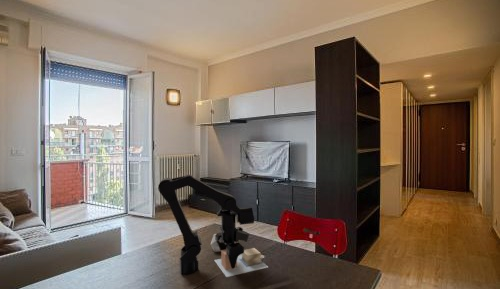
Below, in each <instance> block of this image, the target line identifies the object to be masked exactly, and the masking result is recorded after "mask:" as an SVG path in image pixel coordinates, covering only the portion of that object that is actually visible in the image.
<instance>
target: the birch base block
mask: <svg viewBox="0 0 500 289" xmlns="http://www.w3.org/2000/svg"><path fill="white" fill-rule="evenodd" d="M261 254H262V252H260V251H259V250H258V249H256V248H255V247H252V248H248V249H247V248H246V249H244V253H242V254H241V255H242V260H243V261H244V262H245V263H246V264H247V265H252V264H256V263H261V261H262V259H261V258H262V256H261Z"/></svg>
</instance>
